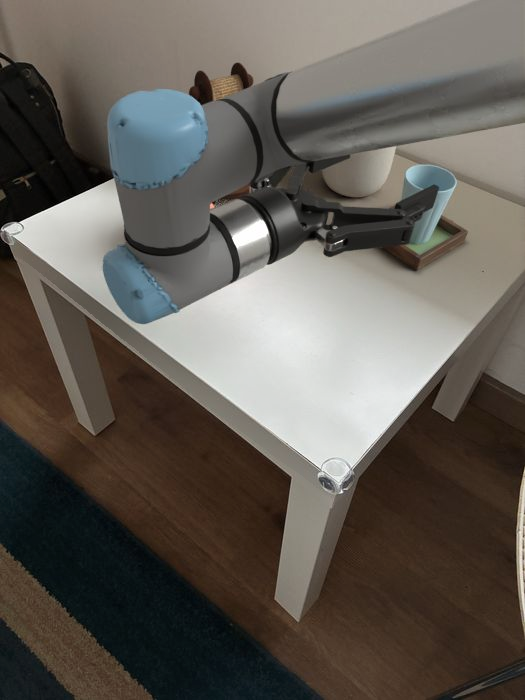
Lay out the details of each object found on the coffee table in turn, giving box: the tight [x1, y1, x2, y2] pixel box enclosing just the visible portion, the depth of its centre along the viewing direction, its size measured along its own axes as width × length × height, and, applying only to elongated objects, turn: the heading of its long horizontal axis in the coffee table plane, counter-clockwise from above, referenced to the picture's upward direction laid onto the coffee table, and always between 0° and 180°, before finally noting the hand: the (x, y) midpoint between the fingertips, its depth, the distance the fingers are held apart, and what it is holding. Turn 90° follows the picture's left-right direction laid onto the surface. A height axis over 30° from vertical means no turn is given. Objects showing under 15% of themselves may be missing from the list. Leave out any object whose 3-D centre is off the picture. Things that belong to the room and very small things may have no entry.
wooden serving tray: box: [382, 204, 469, 272], centre depth 88 cm, size 12×12×2 cm
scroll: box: [188, 62, 254, 206], centre depth 90 cm, size 15×15×20 cm
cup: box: [400, 163, 458, 244], centre depth 85 cm, size 8×8×10 cm
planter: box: [321, 146, 397, 198], centre depth 95 cm, size 12×12×11 cm
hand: (389, 170), depth 65 cm, fingers open, 13 cm apart
